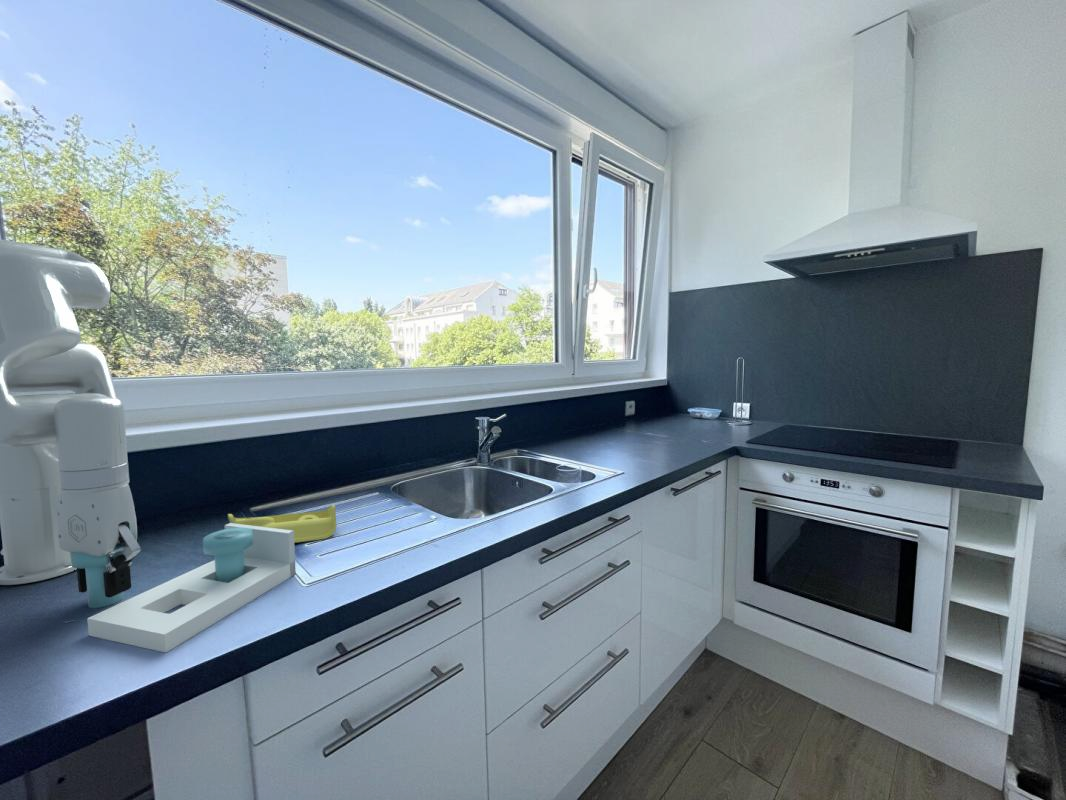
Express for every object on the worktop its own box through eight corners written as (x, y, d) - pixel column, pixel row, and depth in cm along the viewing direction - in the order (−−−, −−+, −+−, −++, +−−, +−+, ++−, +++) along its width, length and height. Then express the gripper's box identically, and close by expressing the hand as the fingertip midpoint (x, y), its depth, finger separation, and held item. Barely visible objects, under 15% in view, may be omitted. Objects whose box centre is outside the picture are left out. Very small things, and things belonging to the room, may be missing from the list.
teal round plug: (63, 609, 67) (58, 552, 66) (115, 587, 74) (111, 535, 73) (96, 616, 66) (91, 557, 65) (146, 593, 72) (142, 539, 71)
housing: (88, 635, 61) (83, 579, 60) (232, 564, 82) (230, 523, 82) (165, 652, 58) (161, 593, 57) (295, 574, 79) (293, 530, 78)
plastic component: (328, 510, 106) (335, 502, 98) (329, 542, 103) (337, 537, 95) (228, 520, 95) (227, 512, 87) (226, 556, 92) (225, 551, 85)
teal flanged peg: (195, 594, 72) (191, 541, 71) (233, 575, 78) (230, 525, 78) (228, 600, 70) (225, 545, 69) (264, 579, 77) (262, 529, 76)
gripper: (25, 479, 66) (36, 595, 68) (107, 488, 62) (117, 611, 64) (86, 468, 74) (95, 572, 75) (163, 475, 69) (171, 586, 71)
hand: (105, 589), depth 70 cm, fingers closed on teal round plug, 4 cm apart
